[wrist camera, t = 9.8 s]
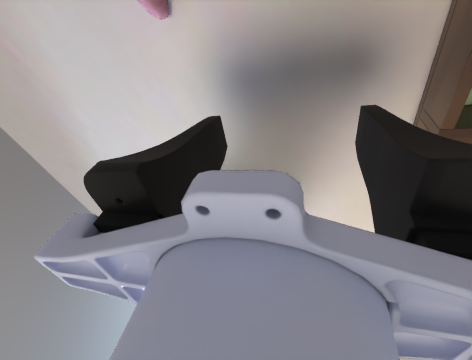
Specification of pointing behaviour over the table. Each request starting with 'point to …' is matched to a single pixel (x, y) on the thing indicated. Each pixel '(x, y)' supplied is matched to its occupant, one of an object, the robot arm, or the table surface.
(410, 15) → the table surface
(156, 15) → the video game controller
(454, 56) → the caddy
